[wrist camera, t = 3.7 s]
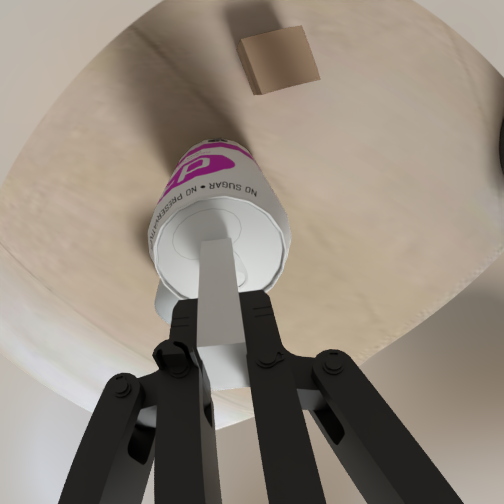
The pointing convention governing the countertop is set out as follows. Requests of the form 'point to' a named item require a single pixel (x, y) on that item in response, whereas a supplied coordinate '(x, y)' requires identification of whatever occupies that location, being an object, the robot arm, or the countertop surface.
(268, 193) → the supplement can
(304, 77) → the walnut block
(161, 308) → the white rounded cylinder
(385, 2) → the countertop surface
